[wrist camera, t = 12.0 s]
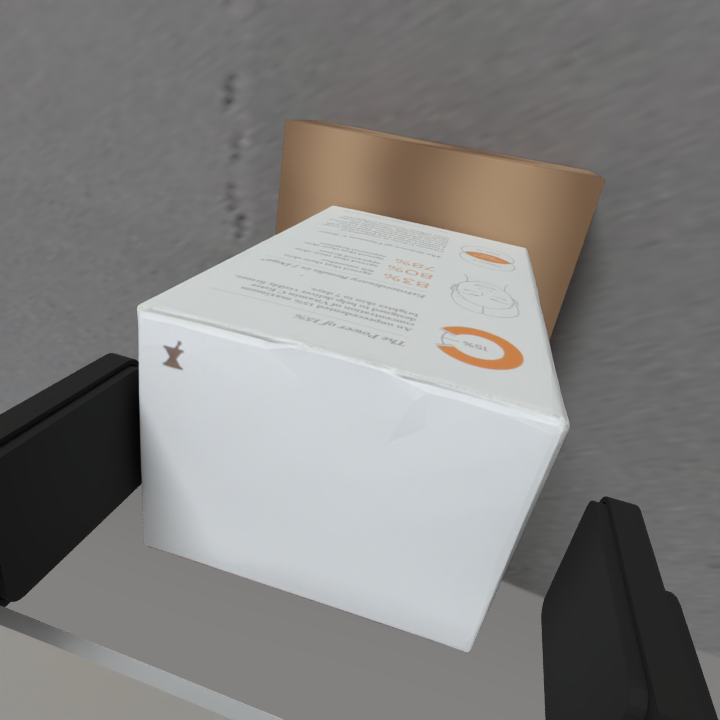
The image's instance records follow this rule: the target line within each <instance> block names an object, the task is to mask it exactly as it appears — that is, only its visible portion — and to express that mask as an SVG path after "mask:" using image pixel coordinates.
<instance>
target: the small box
mask: <svg viewBox="0 0 720 720" xmlns="http://www.w3.org/2000/svg"><path fill="white" fill-rule="evenodd" d="M137 313H138V327H139V406H140V448H141V474H142V511H143V541H144V544H145V545H147V546H149V547H151V548H155V549H158V550H161V551H164V552H168V553H171V554H174V555H177V556H180V557H183V558H186V559H189V560H192V561H195V562H198V563H201V564H204V565H207V566H210V567H213V568H216V569H219V570H222V571H225V572H228V573H231V574H234V575H237V576H240V577H243V578H246V579H249V580H252V581H255V582H258V583H261V584H264V585H267V586H270V587H273V588H276V589H279V590H282V591H285V592H288V593H291V594H294V595H297V596H300V597H303V598H306V599H309V600H312V601H315V602H318V603H321V604H324V605H327V606H330V607H333V608H336V609H339V610H342V611H345V612H348V613H351V614H354V615H357V616H360V617H363V618H366V619H369V620H372V621H374V622H378V623H380V624H384V625H386V626H390V627H393V628H395V629H399V630H402V631H405V632H408V633H411V634H414V635H417V636H420V637H423V638H426V639H429V640H432V641H435V642H437V643H440V644H443V645H446V646H449V647H452V648H455V649H458V650H460V651H463V652H470V650H471V648H472V646H473V644H474V641H475V639H476V637H477V635H478V632H479V630H480V628H481V626H482V623H483V621H484V619H485V617H486V614H487V612H488V610H489V608H490V605H491V603H492V601H493V599H494V596H495V594H496V592H497V590H498V587H499V585H500V583H501V581H502V578H503V576H504V574H505V572H506V570H507V567H508V565H509V563H510V560H511V558H512V556H513V554H514V551H515V549H516V547H517V545H518V542H519V540H520V538H521V536H522V533H523V531H524V529H525V526H526V524H527V522H528V520H529V517H530V515H531V513H532V511H533V508H534V506H535V504H536V502H537V499H538V497H539V495H540V493H541V491H542V488H543V486H544V484H545V482H546V479H547V477H548V475H549V473H550V470H551V468H552V466H553V464H554V462H555V459H556V457H557V455H558V453H559V450H560V448H561V446H562V444H563V441H564V439H565V437H566V435H567V433H568V430H569V427H570V425H569V420H568V417H567V413H566V410H565V406H564V403H563V399H562V395H561V391H560V386H559V382H558V378H557V375H556V371H555V366H554V362H553V357H552V353H551V348H550V344H549V339H548V335H547V330H546V326H545V322H544V318H543V314H542V310H541V306H540V301H539V296H538V290H537V287H536V282H535V278H534V274H533V269H532V265H531V261H530V258H529V254H528V251H527V249H526V248H523V247H519V246H514V245H510V244H506V243H502V242H497V241H493V240H489V239H485V238H480V237H476V236H472V235H467V234H463V233H458V232H454V231H450V230H445V229H441V228H436V227H432V226H427V225H422V224H418V223H413V222H409V221H404V220H400V219H395V218H390V217H386V216H381V215H377V214H372V213H368V212H363V211H358V210H353V209H348V208H343V207H338V206H331V207H329V208H328V209H325V210H324V211H322V212H320V213H318V214H316V215H314V216H312V217H310V218H308V219H306V220H304V221H303V222H301V223H299V224H297V225H295V226H293V227H291V228H289V229H287V230H285V231H283V232H281V233H279V234H277V235H275V236H273V237H271V238H269V239H267V240H265V241H263V242H261V243H259V244H257V245H255V246H254V247H252V248H250V249H248V250H246V251H244V252H242V253H240V254H238V255H236V256H234V257H232V258H230V259H228V260H226V261H224V262H222V263H220V264H218V265H216V266H214V267H212V268H210V269H208V270H206V271H204V272H203V273H201V274H199V275H197V276H195V277H193V278H191V279H189V280H187V281H185V282H183V283H181V284H179V285H177V286H175V287H173V288H171V289H169V290H167V291H165V292H163V293H161V294H159V295H157V296H155V297H153V298H151V299H149V300H147V301H146V302H144V303H142V304H140V305H139V306H138V307H137Z"/></svg>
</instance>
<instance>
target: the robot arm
mask: <svg viewBox="0 0 720 720" xmlns="http://www.w3.org/2000/svg"><path fill="white" fill-rule="evenodd" d="M141 484H142V474H141V448H140V406H139V362H138V361H137V360H135V359H131V358H128V357H124V356H121V355H118V354H114V353H109V354H107V355H105V356H103V357H101V358H99V359H98V360H96V361H94V362H92V363H90V364H89V365H87V366H85V367H83V368H82V369H80V370H78V371H76V372H75V373H73V374H71V375H69V376H68V377H66V378H64V379H62V380H60V381H59V382H57V383H55V384H53V385H52V386H50V387H48V388H46V389H45V390H43V391H41V392H39V393H38V394H36V395H34V396H32V397H30V398H29V399H27V400H25V401H23V402H22V403H20V404H18V405H16V406H15V407H13V408H11V409H9V410H7V411H6V412H4V413H2V414H0V720H283V719H281V718H279V717H276V716H273V715H271V714H269V713H266V712H264V711H261V710H259V709H256V708H254V707H252V706H249V705H246V704H244V703H242V702H239V701H237V700H234V699H232V698H229V697H227V696H224V695H222V694H219V693H217V692H215V691H212V690H210V689H207V688H205V687H202V686H200V685H197V684H195V683H192V682H190V681H187V680H185V679H182V678H180V677H178V676H175V675H173V674H170V673H168V672H165V671H163V670H160V669H158V668H155V667H153V666H150V665H148V664H145V663H143V662H140V661H138V660H135V659H133V658H130V657H128V656H125V655H123V654H120V653H118V652H116V651H113V650H111V649H108V648H106V647H103V646H101V645H98V644H96V643H93V642H91V641H88V640H86V639H83V638H80V637H78V636H76V635H73V634H70V633H68V632H65V631H63V630H61V629H58V628H55V627H53V626H50V625H48V624H45V623H43V622H40V621H38V620H35V619H33V618H30V617H28V616H25V615H23V614H20V613H18V612H15V611H13V610H10V609H8V608H5V607H6V606H7V605H8V604H9V603H10V602H15V601H18V600H20V599H21V598H22V597H24V596H25V595H26V594H27V593H28V592H29V591H30V590H31V589H32V588H33V587H34V586H35V585H36V584H37V583H38V582H39V581H40V580H42V579H43V578H44V577H45V576H46V575H47V574H48V573H49V572H50V571H51V570H52V569H53V568H54V567H55V566H56V565H57V564H58V563H59V562H60V561H61V560H62V559H63V558H64V557H66V556H67V555H68V554H69V553H70V552H71V551H72V550H73V549H74V548H75V547H76V546H77V545H78V544H79V543H80V542H81V541H82V540H83V539H84V538H85V537H86V536H87V535H89V534H90V533H91V532H92V531H93V530H94V529H95V528H96V527H97V526H98V525H99V524H100V523H101V522H102V521H103V520H104V519H105V518H106V517H107V516H108V515H109V514H110V513H111V512H112V511H113V510H115V509H116V508H117V507H118V506H119V505H120V504H121V503H122V502H123V501H124V500H125V499H126V498H127V497H128V496H129V495H130V494H131V493H132V492H133V491H134V490H135V489H136V488H137V487H138V486H140V485H141ZM541 615H542V616H541V618H542V619H541V621H542V645H543V669H544V692H545V715H546V716H545V717H546V720H718V718H717V715H716V712H715V709H714V706H713V703H712V700H711V697H710V693H709V690H708V687H707V684H706V681H705V679H704V675H703V672H702V669H701V666H700V663H699V660H698V657H697V654H696V651H695V648H694V645H693V642H692V639H691V636H690V633H689V630H688V627H687V624H686V621H685V618H684V615H683V611H682V608H681V605H680V603H679V601H678V599H677V597H676V596H675V595H674V594H673V593H671V592H668V591H665V588H664V585H663V582H662V579H661V575H660V572H659V569H658V565H657V562H656V559H655V556H654V552H653V549H652V546H651V543H650V539H649V536H648V533H647V530H646V526H645V523H644V520H643V517H642V513H641V510H640V508H639V507H638V506H637V505H634V504H631V503H627V502H624V501H620V500H617V499H613V498H610V497H603V498H602V499H601V500H600V502H596V501H590V502H589V504H588V506H587V507H586V510H585V512H584V514H583V516H582V518H581V520H580V523H579V525H578V527H577V529H576V531H575V533H574V536H573V538H572V540H571V542H570V544H569V547H568V549H567V551H566V553H565V555H564V557H563V560H562V562H561V564H560V566H559V568H558V570H557V573H556V575H555V577H554V579H553V581H552V583H551V586H550V588H549V590H548V592H547V594H546V596H545V599H544V602H543V607H542V614H541Z"/></svg>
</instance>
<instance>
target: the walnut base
mask: <svg viewBox="0 0 720 720" xmlns="http://www.w3.org/2000/svg"><path fill="white" fill-rule="evenodd" d="M604 183H605V179H604V178H602V177H600V176H598V175H596V174H594V173H592V172H590V171H588V170H583V169H578V168H572V167H567V166H561V165H556V164H550V163H545V162H540V161H534V160H529V159H523V158H518V157H513V156H507V155H502V154H496V153H491V152H486V151H480V150H475V149H469V148H464V147H458V146H453V145H448V144H442V143H437V142H431V141H426V140H421V139H415V138H410V137H404V136H399V135H394V134H388V133H383V132H377V131H372V130H367V129H361V128H356V127H350V126H345V125H339V124H334V123H329V122H323V121H318V120H285V130H284V142H283V154H282V165H281V177H280V188H279V200H278V212H277V223H276V235H277V234H279V233H281V232H283V231H285V230H287V229H289V228H291V227H293V226H295V225H297V224H299V223H301V222H303V221H304V220H306V219H308V218H310V217H312V216H314V215H316V214H318V213H320V212H322V211H324V210H325V209H328V208H329V207H331V206H338V207H343V208H348V209H353V210H358V211H363V212H368V213H372V214H377V215H381V216H386V217H390V218H395V219H400V220H404V221H409V222H413V223H418V224H422V225H427V226H432V227H436V228H441V229H445V230H450V231H454V232H458V233H463V234H467V235H472V236H476V237H480V238H485V239H489V240H493V241H497V242H502V243H506V244H510V245H514V246H519V247H523V248H526V249H527V251H528V254H529V258H530V261H531V265H532V269H533V274H534V278H535V282H536V287H537V290H538V296H539V301H540V306H541V310H542V314H543V318H544V322H545V326H546V330H547V335H548V339H549V340H550V337H551V334H552V332H553V329H554V326H555V323H556V320H557V317H558V314H559V311H560V309H561V306H562V303H563V300H564V297H565V294H566V291H567V289H568V286H569V283H570V280H571V277H572V274H573V271H574V269H575V266H576V263H577V260H578V257H579V254H580V251H581V249H582V246H583V243H584V240H585V237H586V234H587V231H588V229H589V226H590V223H591V220H592V217H593V214H594V211H595V208H596V206H597V203H598V200H599V197H600V194H601V191H602V188H603V186H604Z"/></svg>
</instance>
